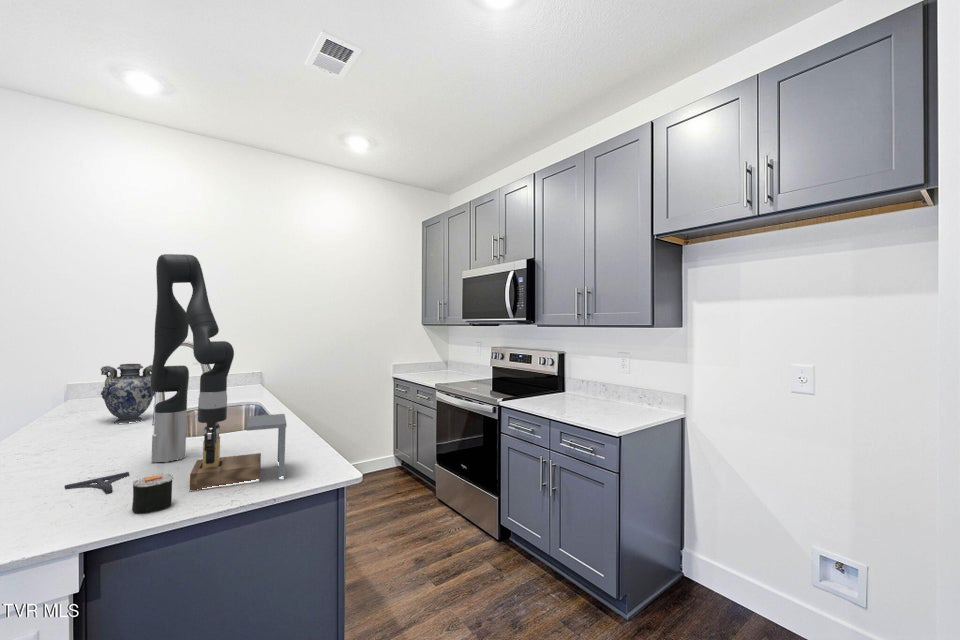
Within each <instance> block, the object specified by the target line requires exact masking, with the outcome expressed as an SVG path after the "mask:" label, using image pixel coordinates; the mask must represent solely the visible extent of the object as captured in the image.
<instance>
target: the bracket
mask: <svg viewBox="0 0 960 640" xmlns="http://www.w3.org/2000/svg"><path fill="white" fill-rule="evenodd" d="M127 476H128V477H129V476H130V472H129V471H125V472H119V473H116V474H112V475H107V476H103V477H97V478H92V479H89V480H88V479H87V480H83V481H79V482H73V483H70V484H69V483H68V484H65V485H64V489H65V490H73V489H83V488H84V489H85V488H92V489H101V490H102V491H103V493H105V494H106V495H109V494H112V493H113V492H114V491H113V485H112V482H113V483H115V482H116V480H117V481H119V480H121V478H122V479H124V477H125V478H128V477H127ZM105 480H108V481H105ZM114 481H115V482H114ZM92 483H94V484H92ZM96 483H97V484H96Z"/></svg>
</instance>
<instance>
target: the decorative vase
mask: <svg viewBox="0 0 960 640" xmlns="http://www.w3.org/2000/svg"><path fill="white" fill-rule="evenodd" d="M152 365H153V364H150V365H147V366H146V367H145V368H144V366H143V365H142V364H141V363H123V364H121V363H120V364H119V366H117V368H115V367H113V366H111V365H105V366H102V367H101V368H100V372H101V373H100V375H101V376H105V381H104V386H103V388H102V391H101V392H100V395H101V398H102V399H103V401H104V404H105V406H106V409H107V410H108V411H109V413H110V414H111V415H113V416H114V417H116V418H117V419H116V420H114V421H113V423H114V424H115V423H129V422H136V421H140V422H142V421H143V419H144V418H142V417H141V415H142V414H143V415H144V413H145V412H146V411H147V410H148V408H149V407H150V405H151V404H152V402H153V398H154V397H155V395H156V392H154V391H153V390H152V389H151V384H150V381H151V372H152ZM141 369H143V370H142V375H141V371H140V370H141ZM118 370H119V371H120V372H119V375H120V376H118ZM141 420H142V421H141ZM136 423H137V422H136Z"/></svg>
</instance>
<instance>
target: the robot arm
mask: <svg viewBox="0 0 960 640" xmlns="http://www.w3.org/2000/svg"><path fill="white" fill-rule="evenodd" d="M155 274H156V310H155V312H156V313H155V321H154V322H155V323H154V345H153V346H154V348H153V349H154V351H153V359H152V364H151V365H152V372H150V374H151V381H150V384H151V389H152V390H153V391H154V392H155V393H170V392H173V393H174V392H176V393H175V394H174V395H173V396H171V397H170V398H168V399H165V400H161V401H159V402H157V403H156V404H155V405H154V424H153V425H154V427H153V434H152V438H151V458H150V459H151V462H150V463H153V462H154V463H157V462H165V463H169V462H168V461H172V462H174V461H173V460H177V459H180V460H182V459H181V458H183V457H184V456H185V457H186V453H187V452H186V446H187V445H186V444H187V443H186V442H187V415H188V414H187V413H188V411H187V410H188V389H189V379H190V378H189V377H190V371H189V368H188V367H187V365H166V363H167V362H168V359H169V358H170V357H171V356H172V355H173V353H174V352H175V351H176V350H177V349H178V348H179V347H180V346H182V344H183V343H184V342H185V340H187V338H188V337H189V336H188V335H189V329H190V330H191V333H192V340H193V341H192V342H193V343H192V344H193V349H192V350H193V357H194V358H195V360H196V361H197V362H198V363H199V364H201V365H206V366H207V365H213V366H212V368H211V370H209V371H206V372H203V373H202V374H201V375H200V379H199V396H198V408H197V409H198V410H197V422H198V423H201V424H206V426H204V428H203V434H204V435H203V436H204V438H203V441H204V443H205V448H204V450H205V451H206V464H211V463H214V461H215V449H216V448H215V444H216V442H217V441H218V437H220V431H221V425H220V424H219V423H220V422H224V421H226V419H228V418H227V417H228V416H227V414H228V413H227V411H228V393H227V388H228V387H227V386H228V385H227V384H228V376H229V373H230V371H231V370H230V369H231V367H232V364H233V360H234V356H235V351H234V347H233V345H232V344H231V343H230V342H228V341H225V340H221V341H220V340H217V341H216V340H215V341H211V340H210V339H211V338H214V337H215V336H217V335H218V333H219V331H220V328H219V326H218V324H217V320H216V319H215V316H214V313H213V311H212V308H211V305H210V302H209V301H210V300H209V296H208V291H207V287H206V282H205V278H204V273H203V269H202V265H201V262H200V261H199V259H198V258H197V257H196V256H195V255H193V254H185V253H184V254H183V253H182V254H178V253H177V254H173V253H166V254H161V255H159V256H158V259H157V260H156V273H155ZM180 283H182V284H184V283H186V284H187V283H188V284H189V283H190V285H191V287H192V293H191V297H190V299H189V301H188V304H187V306H186V310H185V309H184V307H183V306H182V305H181V304H180V302H179V301H178V300H177V298H176V297H175V294H174V291H173V290H174V288H173V287H174V286H173V285H174V284H180ZM215 438H216V439H215ZM208 444H212V446H210V447H208ZM185 457H184V458H185ZM184 458H183V459H184ZM177 461H178V460H177Z"/></svg>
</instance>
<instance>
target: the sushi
mask: <svg viewBox="0 0 960 640" xmlns="http://www.w3.org/2000/svg"><path fill="white" fill-rule="evenodd" d="M173 480H174V475H172V474H171V473H161V474H160V473H156V474H152V475H150V476H144V477H141V478H137V479H135V480H132V493H133V495H132V507H131V511H132V513H134V514H137V515H143V514H144V515H145V514H148V513H149V514H150V513H154V512H159V511H163V510H166V509H167V508H168V509H169V508H170V507H171V506H172V496H173V495H172V494H173V493H172V492H173Z"/></svg>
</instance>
